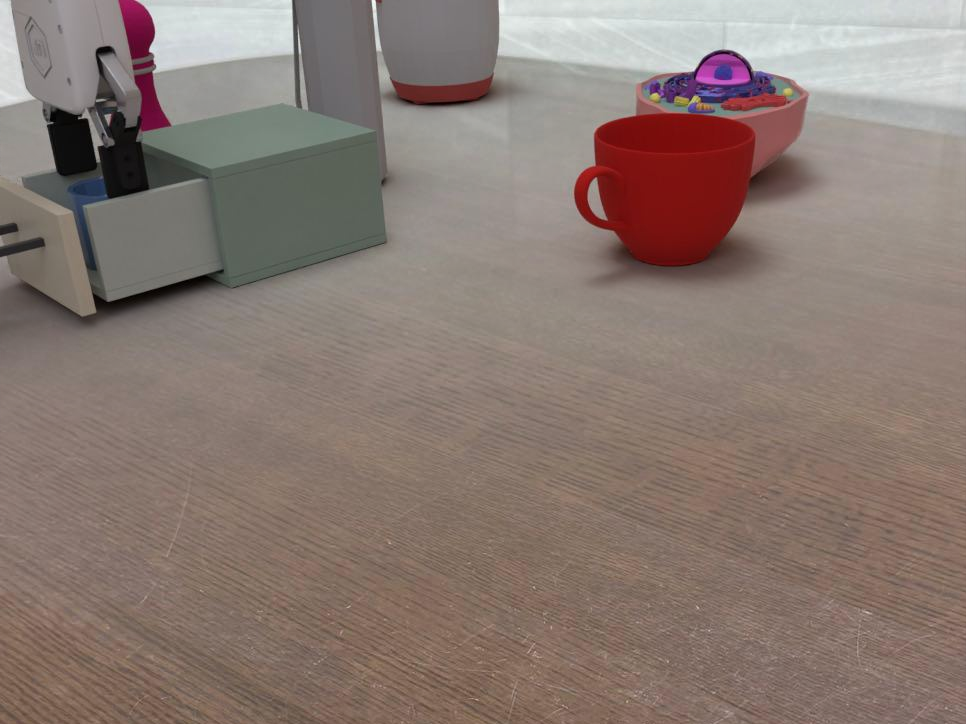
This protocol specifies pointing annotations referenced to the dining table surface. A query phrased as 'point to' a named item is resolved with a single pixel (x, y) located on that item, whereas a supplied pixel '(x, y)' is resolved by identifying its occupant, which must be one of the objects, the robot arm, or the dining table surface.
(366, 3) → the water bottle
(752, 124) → the cell model
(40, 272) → the drawer
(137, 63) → the pepper mill
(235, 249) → the green storage cabinet
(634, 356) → the dining table surface
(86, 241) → the cup
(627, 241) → the ceramic cup
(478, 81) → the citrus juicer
